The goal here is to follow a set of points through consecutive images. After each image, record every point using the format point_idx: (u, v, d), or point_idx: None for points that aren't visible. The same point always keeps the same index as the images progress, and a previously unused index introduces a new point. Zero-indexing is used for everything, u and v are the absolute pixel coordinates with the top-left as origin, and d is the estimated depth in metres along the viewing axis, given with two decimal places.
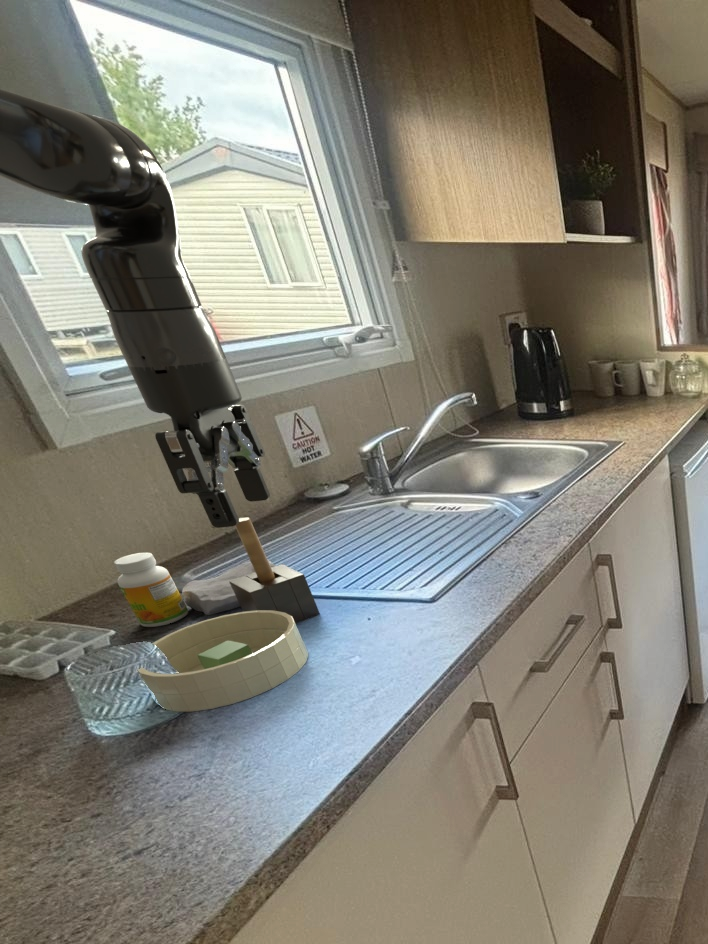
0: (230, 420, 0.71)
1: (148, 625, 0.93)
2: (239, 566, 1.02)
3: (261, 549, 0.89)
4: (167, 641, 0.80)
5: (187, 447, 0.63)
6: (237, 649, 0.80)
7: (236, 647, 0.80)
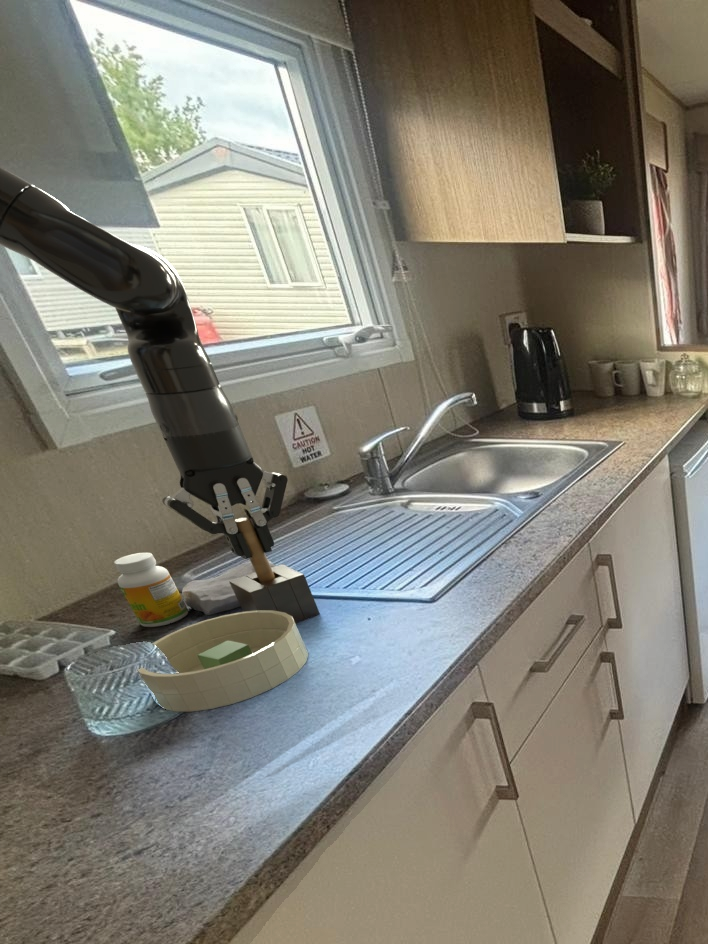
0: (253, 481, 0.86)
1: (148, 625, 0.93)
2: (239, 566, 1.02)
3: (261, 549, 0.89)
4: (167, 641, 0.80)
5: (178, 512, 0.81)
6: (237, 649, 0.80)
7: (236, 647, 0.80)
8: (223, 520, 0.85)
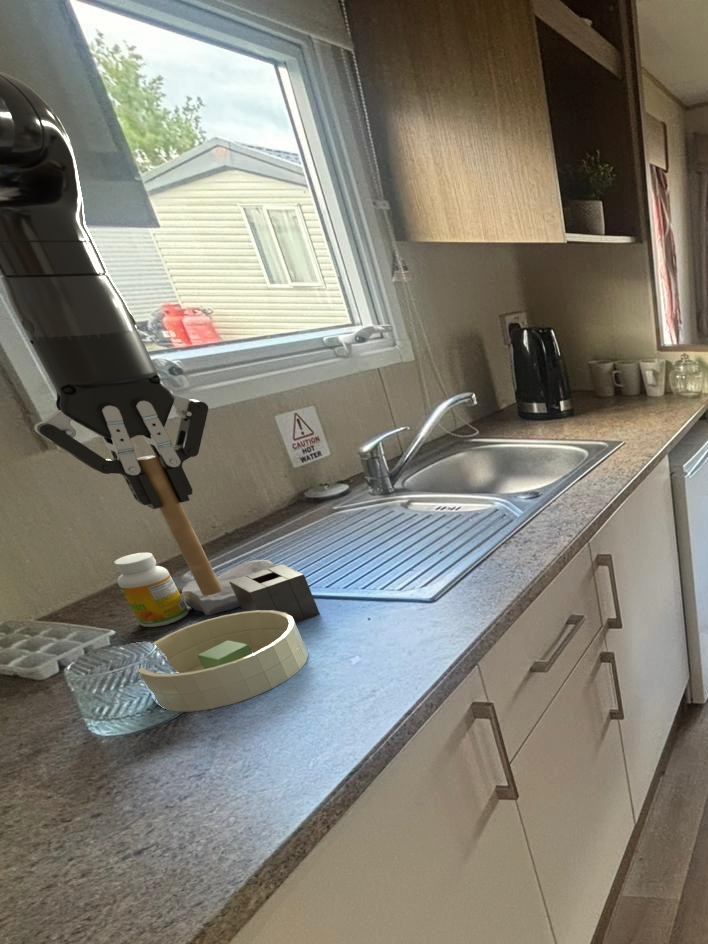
0: (161, 407, 0.67)
1: (148, 625, 0.93)
2: (239, 566, 1.02)
3: (175, 497, 0.70)
4: (167, 641, 0.80)
5: (54, 442, 0.61)
6: (237, 649, 0.80)
7: (236, 647, 0.80)
8: (119, 456, 0.65)
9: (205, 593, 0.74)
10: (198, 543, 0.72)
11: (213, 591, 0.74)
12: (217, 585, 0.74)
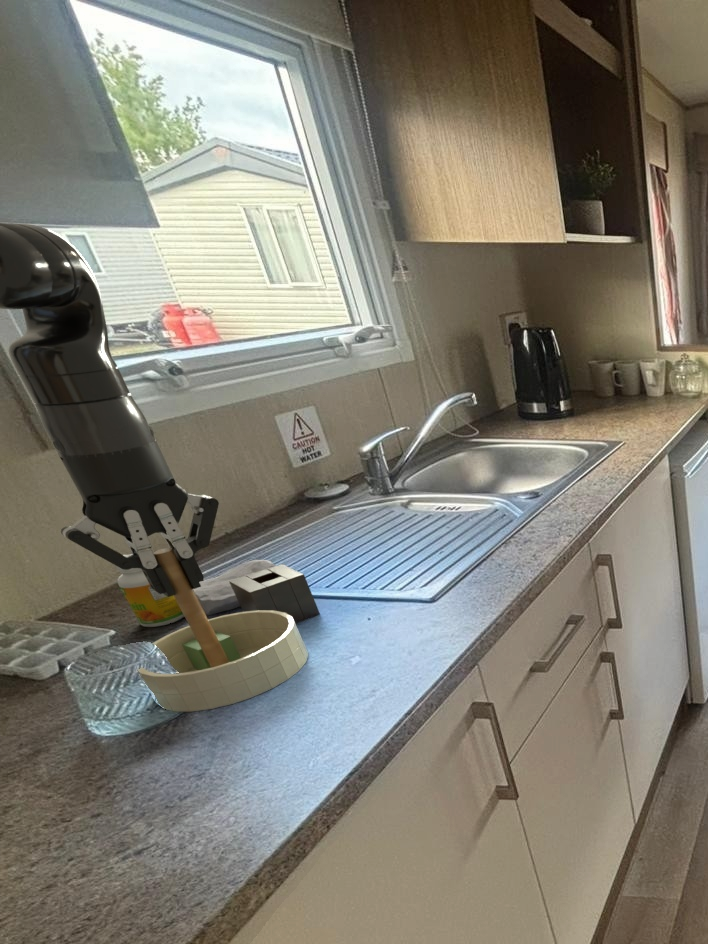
0: (176, 506, 0.73)
1: (148, 625, 0.93)
2: (239, 566, 1.02)
3: (188, 585, 0.76)
4: (167, 641, 0.80)
5: (80, 545, 0.68)
6: (219, 640, 0.82)
7: (218, 639, 0.82)
8: (138, 553, 0.72)
9: None
10: (208, 624, 0.79)
11: None
12: (225, 660, 0.81)
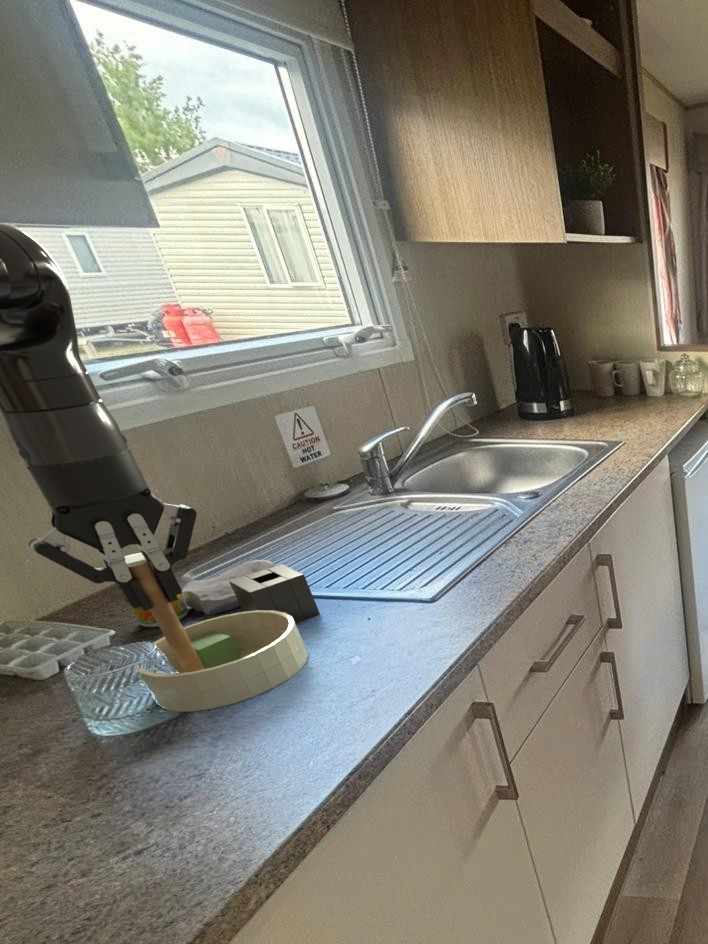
0: (151, 516, 0.70)
1: (148, 625, 0.93)
2: (239, 566, 1.02)
3: (164, 598, 0.73)
4: None
5: None
6: (219, 640, 0.82)
7: (218, 639, 0.82)
8: (111, 566, 0.69)
9: None
10: (187, 638, 0.76)
11: None
12: None
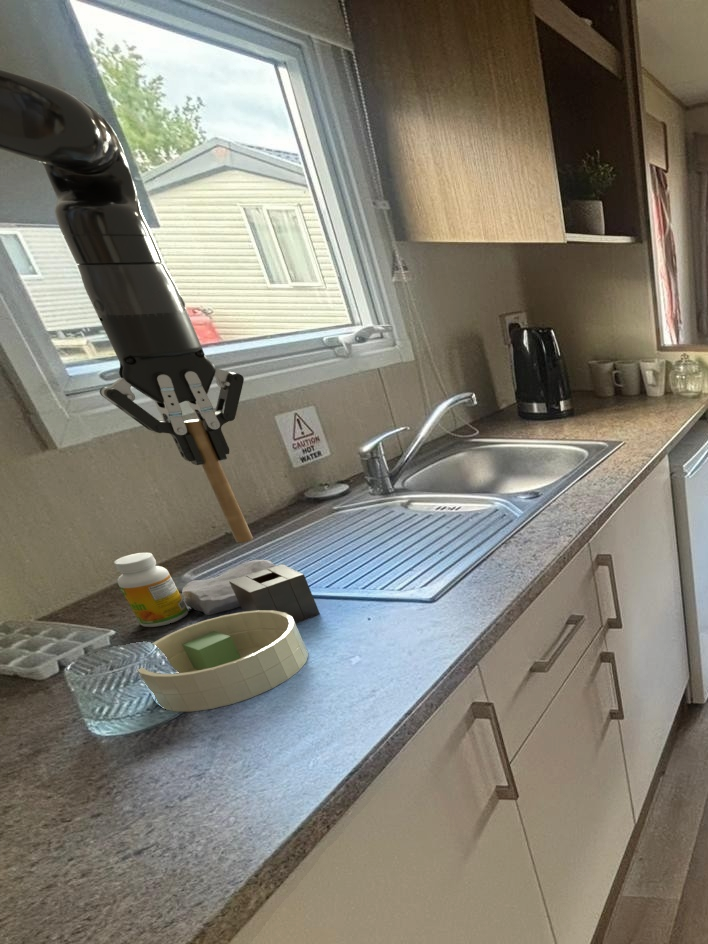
0: (204, 377, 0.78)
1: (148, 625, 0.93)
2: (239, 566, 1.02)
3: (215, 456, 0.81)
4: (167, 641, 0.80)
5: (117, 404, 0.73)
6: (219, 640, 0.82)
7: (218, 639, 0.82)
8: (170, 418, 0.77)
9: (239, 541, 0.85)
10: (233, 497, 0.84)
11: (246, 539, 0.86)
12: (249, 534, 0.86)
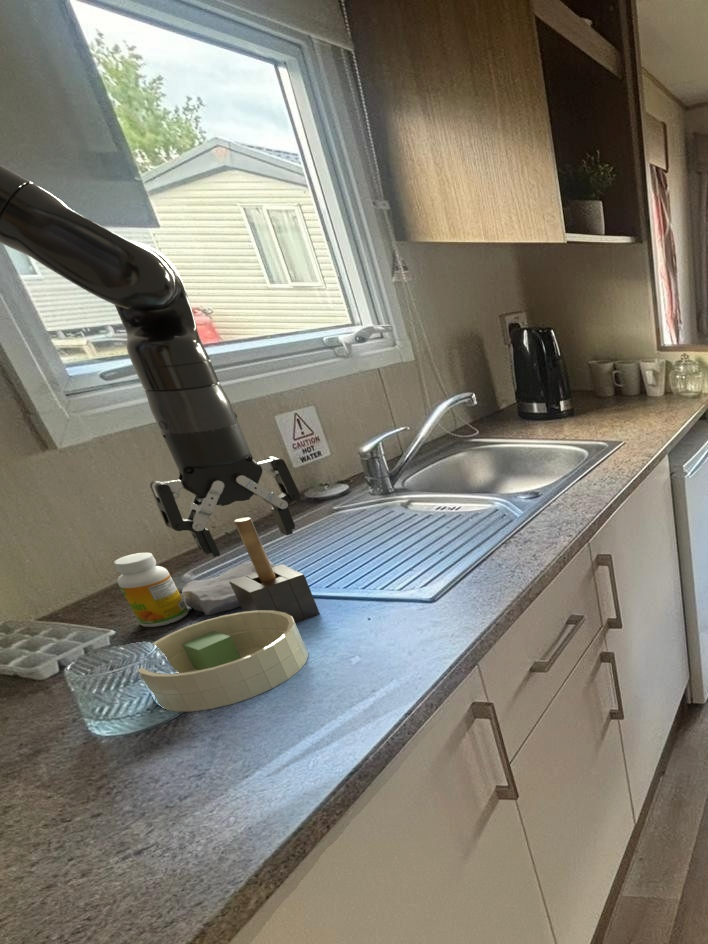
0: (250, 472, 0.86)
1: (148, 625, 0.93)
2: (239, 566, 1.02)
3: (262, 549, 0.89)
4: (167, 641, 0.80)
5: (159, 497, 0.79)
6: (219, 640, 0.82)
7: (218, 639, 0.82)
8: (197, 514, 0.82)
9: None
10: None
11: None
12: None
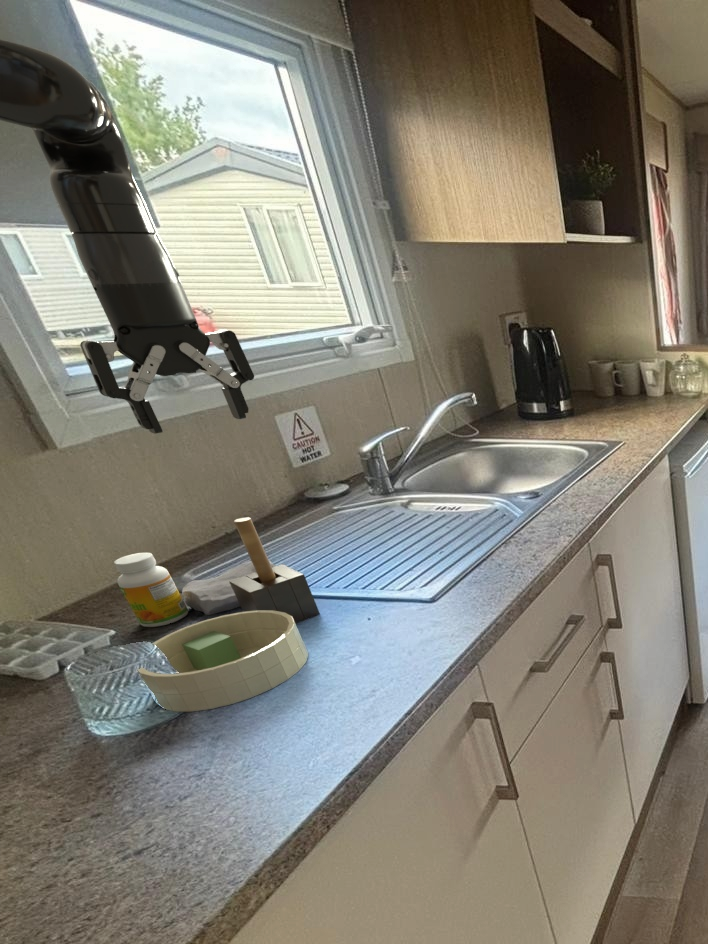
0: (195, 342, 0.78)
1: (148, 625, 0.93)
2: (239, 566, 1.02)
3: (262, 549, 0.89)
4: (167, 641, 0.80)
5: (90, 356, 0.72)
6: (219, 640, 0.82)
7: (218, 639, 0.82)
8: (135, 382, 0.75)
9: None
10: None
11: None
12: None
